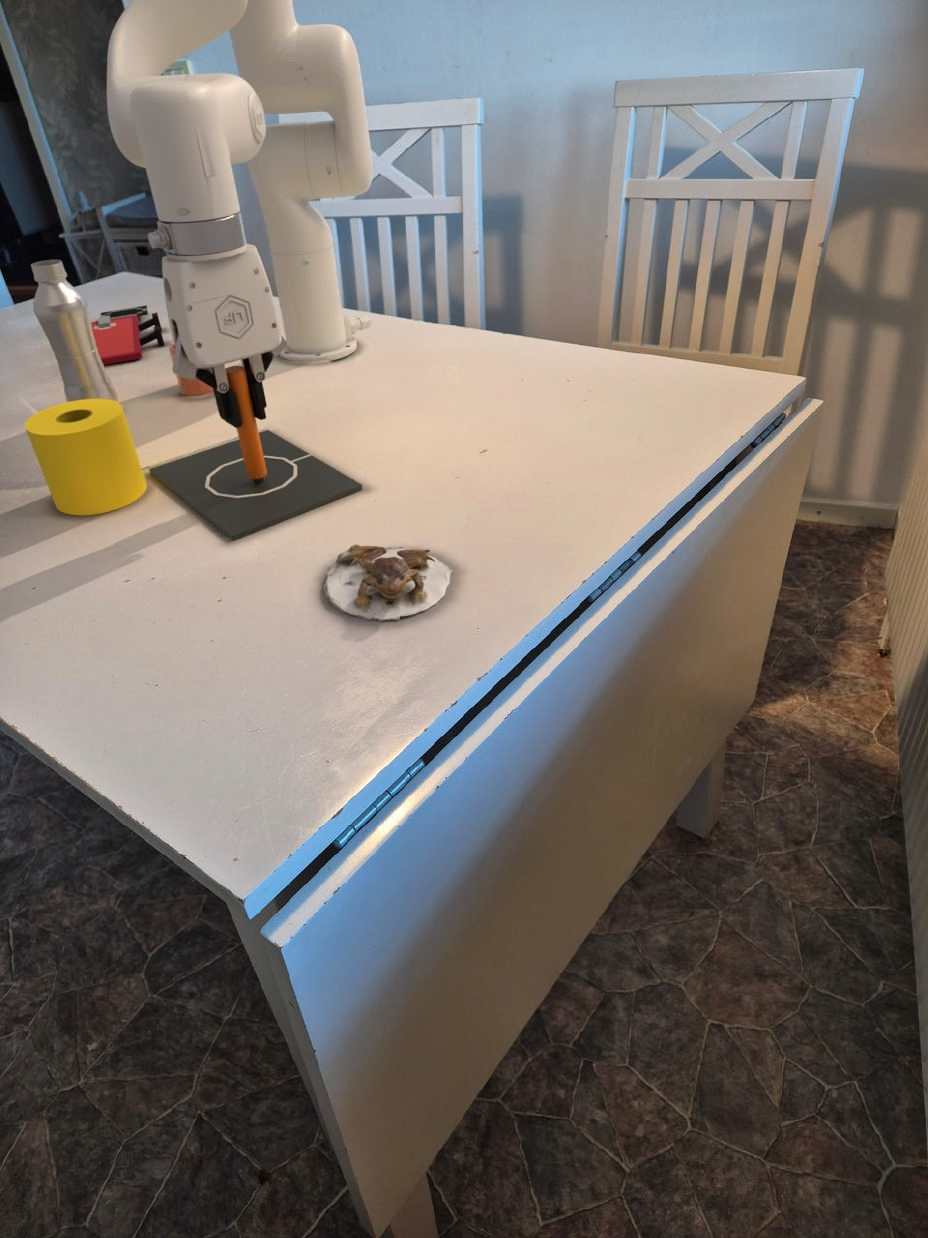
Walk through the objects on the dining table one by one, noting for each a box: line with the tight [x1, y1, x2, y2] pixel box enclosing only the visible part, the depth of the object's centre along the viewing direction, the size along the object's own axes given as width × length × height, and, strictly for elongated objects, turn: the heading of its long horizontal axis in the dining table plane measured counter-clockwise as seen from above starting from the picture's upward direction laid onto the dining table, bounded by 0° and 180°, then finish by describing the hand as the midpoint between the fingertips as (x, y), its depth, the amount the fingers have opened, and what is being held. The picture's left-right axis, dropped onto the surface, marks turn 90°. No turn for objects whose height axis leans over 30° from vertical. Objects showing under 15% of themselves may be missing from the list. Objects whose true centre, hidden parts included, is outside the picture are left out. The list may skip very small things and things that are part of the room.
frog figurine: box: [323, 543, 453, 622], centre depth 74 cm, size 12×12×4 cm
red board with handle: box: [91, 305, 166, 366], centre depth 142 cm, size 30×3×15 cm
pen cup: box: [168, 343, 214, 397], centre depth 116 cm, size 5×5×7 cm
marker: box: [225, 365, 267, 484], centre depth 89 cm, size 2×2×13 cm
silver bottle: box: [30, 259, 119, 403], centre depth 107 cm, size 6×7×20 cm
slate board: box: [148, 429, 364, 541], centre depth 94 cm, size 16×22×1 cm
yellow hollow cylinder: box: [24, 399, 148, 516], centre depth 90 cm, size 10×10×9 cm
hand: (245, 418), depth 88 cm, fingers closed on marker, 2 cm apart
